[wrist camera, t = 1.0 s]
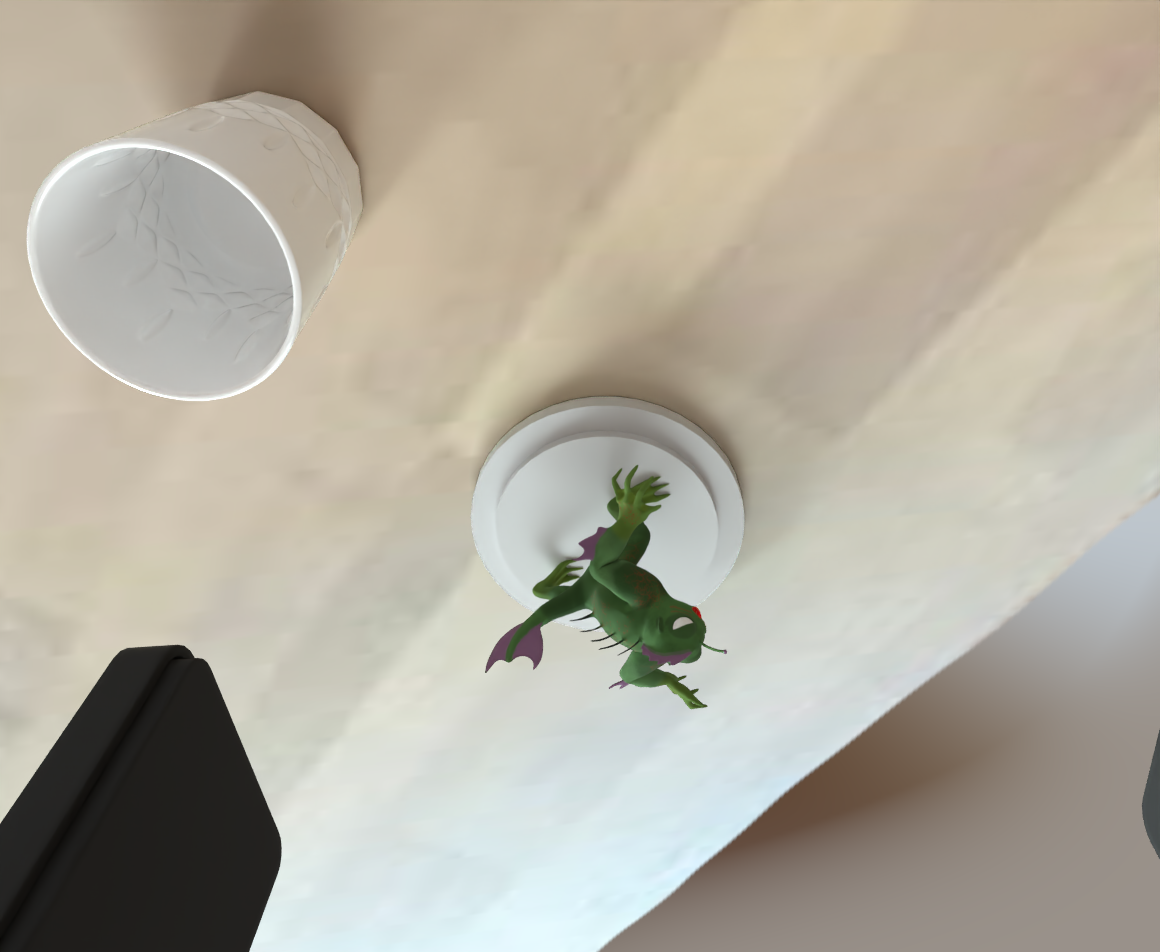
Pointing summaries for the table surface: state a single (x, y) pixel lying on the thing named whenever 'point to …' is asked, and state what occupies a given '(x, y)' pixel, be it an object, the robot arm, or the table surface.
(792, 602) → the table surface
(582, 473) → the monster figurine
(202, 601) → the table surface
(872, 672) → the table surface
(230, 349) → the white cup
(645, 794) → the table surface
